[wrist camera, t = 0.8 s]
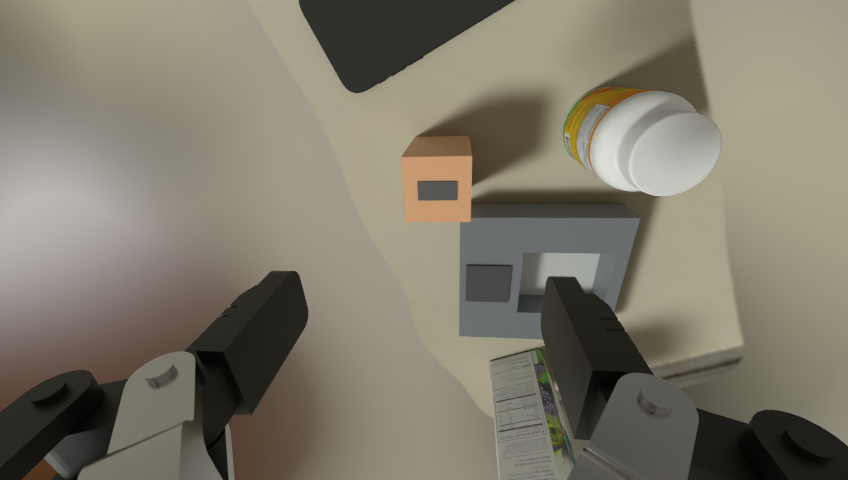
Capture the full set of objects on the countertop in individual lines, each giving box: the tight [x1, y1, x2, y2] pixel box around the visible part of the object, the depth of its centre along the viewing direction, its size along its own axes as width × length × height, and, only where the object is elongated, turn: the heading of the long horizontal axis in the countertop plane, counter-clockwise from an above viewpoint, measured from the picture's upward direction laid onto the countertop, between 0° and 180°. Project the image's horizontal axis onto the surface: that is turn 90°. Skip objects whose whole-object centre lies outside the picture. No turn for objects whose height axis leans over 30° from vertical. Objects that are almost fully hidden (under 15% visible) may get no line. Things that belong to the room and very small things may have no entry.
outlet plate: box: [459, 203, 641, 339], centre depth 28 cm, size 12×13×3 cm
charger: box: [401, 135, 472, 222], centre depth 23 cm, size 4×4×7 cm
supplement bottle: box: [562, 87, 722, 196], centre depth 20 cm, size 5×5×10 cm
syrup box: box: [489, 349, 576, 480], centre depth 30 cm, size 6×6×14 cm
